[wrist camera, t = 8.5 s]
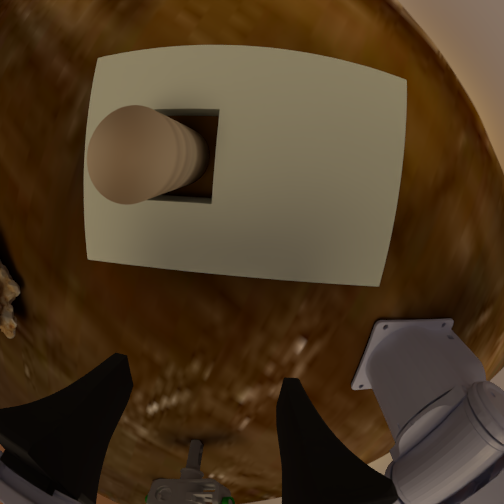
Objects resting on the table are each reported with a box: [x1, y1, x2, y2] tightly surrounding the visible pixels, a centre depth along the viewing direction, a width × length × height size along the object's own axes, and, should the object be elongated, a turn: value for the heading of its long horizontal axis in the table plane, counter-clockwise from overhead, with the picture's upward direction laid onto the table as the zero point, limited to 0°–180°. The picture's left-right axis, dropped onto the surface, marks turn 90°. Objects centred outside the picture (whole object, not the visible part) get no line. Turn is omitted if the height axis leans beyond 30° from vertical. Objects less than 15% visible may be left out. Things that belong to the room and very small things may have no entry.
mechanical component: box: [145, 440, 235, 504], centre depth 22 cm, size 3×10×10 cm, turn 113°
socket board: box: [84, 45, 407, 287], centre depth 16 cm, size 20×14×2 cm
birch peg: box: [87, 105, 209, 205], centre depth 13 cm, size 4×4×8 cm
